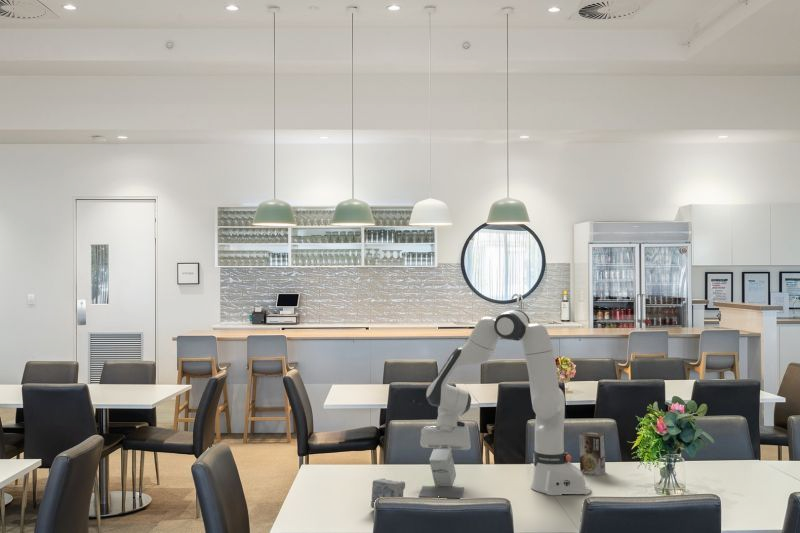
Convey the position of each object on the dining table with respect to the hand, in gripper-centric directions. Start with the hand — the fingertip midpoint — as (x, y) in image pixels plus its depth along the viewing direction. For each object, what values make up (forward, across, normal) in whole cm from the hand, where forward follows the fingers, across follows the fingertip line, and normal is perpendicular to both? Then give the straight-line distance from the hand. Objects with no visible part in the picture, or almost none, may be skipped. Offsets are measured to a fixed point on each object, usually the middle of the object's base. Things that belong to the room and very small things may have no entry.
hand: (444, 457), depth 280 cm
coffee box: (-11, +60, +24) cm, 65 cm away
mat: (+15, 0, 0) cm, 15 cm away
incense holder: (+31, -16, -15) cm, 38 cm away
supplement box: (+7, +1, +6) cm, 9 cm away
